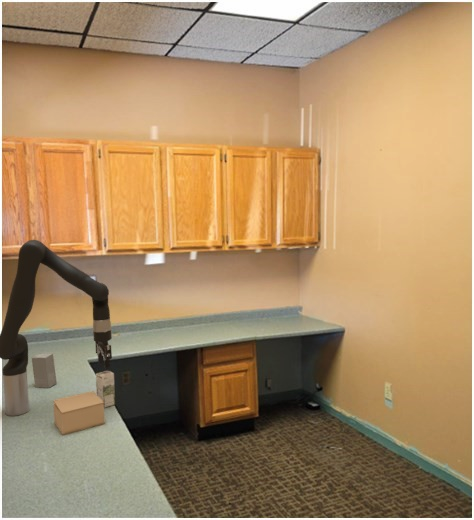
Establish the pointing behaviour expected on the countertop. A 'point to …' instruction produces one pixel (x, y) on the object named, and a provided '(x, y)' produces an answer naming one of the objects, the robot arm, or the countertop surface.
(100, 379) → the syrup box
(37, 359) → the skincare box
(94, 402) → the lid
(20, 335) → the robot arm
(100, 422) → the carton
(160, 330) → the countertop surface
